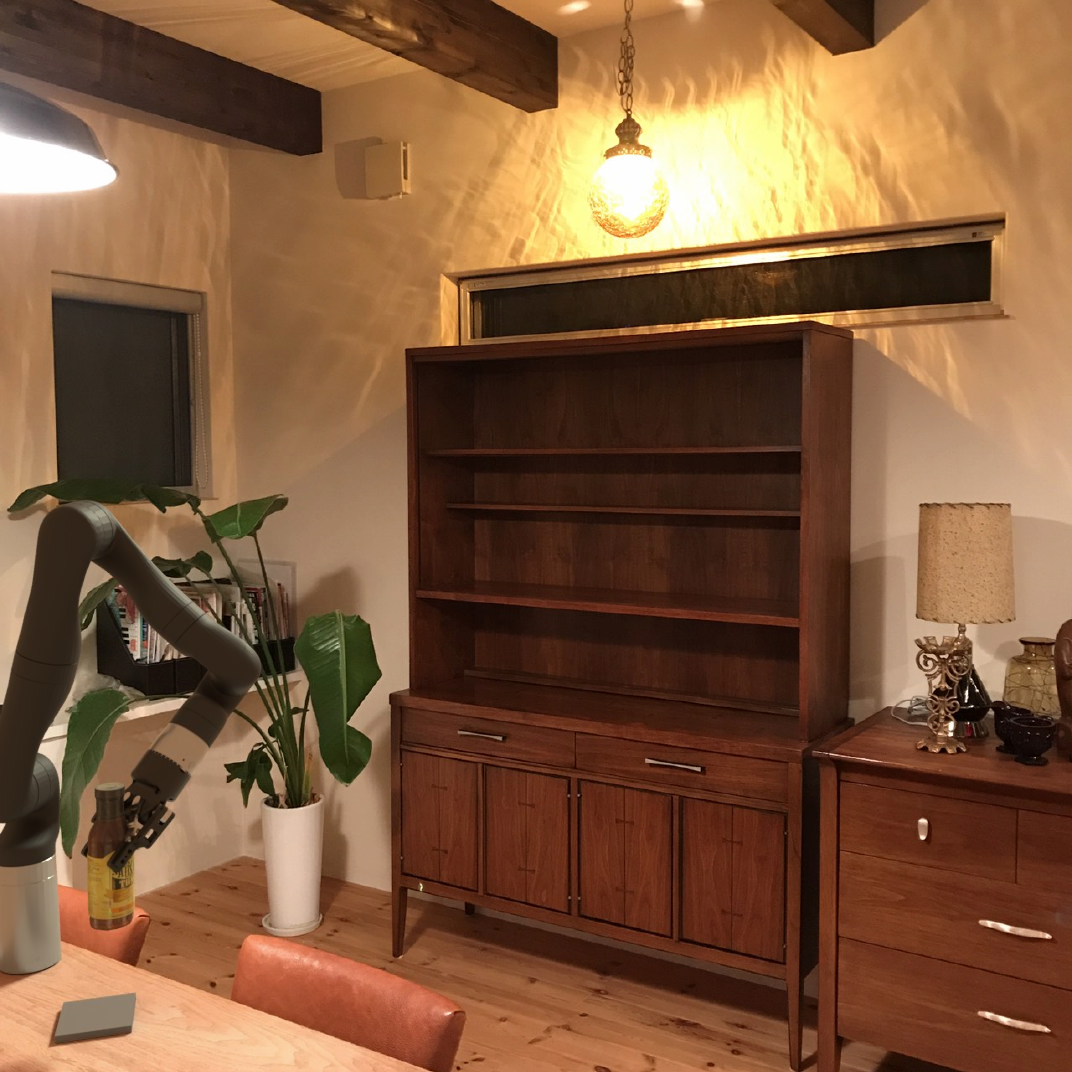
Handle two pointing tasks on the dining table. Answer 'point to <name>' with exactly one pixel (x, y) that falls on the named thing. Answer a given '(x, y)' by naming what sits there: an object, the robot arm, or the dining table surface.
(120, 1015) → the rubber mat
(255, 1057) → the dining table surface
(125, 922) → the sauce bottle
